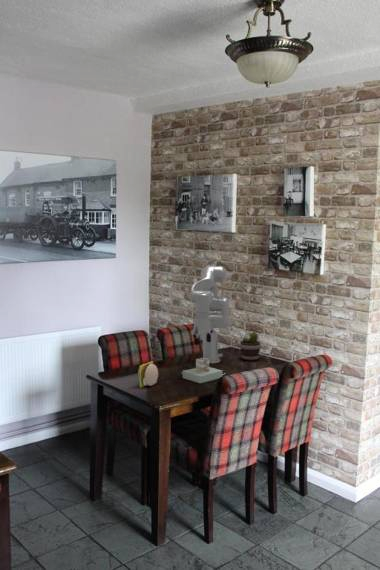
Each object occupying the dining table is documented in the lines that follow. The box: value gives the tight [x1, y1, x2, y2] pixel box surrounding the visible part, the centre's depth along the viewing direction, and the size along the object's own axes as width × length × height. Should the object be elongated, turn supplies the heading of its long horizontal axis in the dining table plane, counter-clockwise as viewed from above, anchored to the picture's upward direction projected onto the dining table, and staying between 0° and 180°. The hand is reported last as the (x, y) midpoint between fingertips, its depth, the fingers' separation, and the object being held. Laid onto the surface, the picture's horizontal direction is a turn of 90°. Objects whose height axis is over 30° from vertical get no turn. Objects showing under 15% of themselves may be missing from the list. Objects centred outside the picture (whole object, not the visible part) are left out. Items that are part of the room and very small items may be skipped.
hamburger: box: [137, 360, 159, 388], centre depth 314 cm, size 12×8×12 cm
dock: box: [182, 366, 224, 384], centre depth 328 cm, size 18×15×4 cm
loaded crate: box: [195, 357, 210, 373], centre depth 328 cm, size 6×6×7 cm
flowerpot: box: [238, 330, 262, 362], centre depth 370 cm, size 14×15×20 cm
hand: (202, 343), depth 327 cm, fingers open, 9 cm apart
